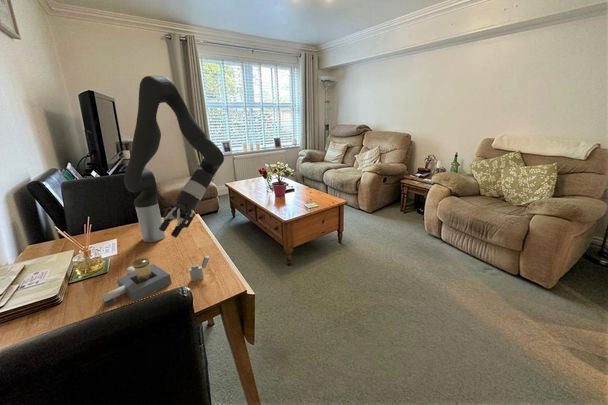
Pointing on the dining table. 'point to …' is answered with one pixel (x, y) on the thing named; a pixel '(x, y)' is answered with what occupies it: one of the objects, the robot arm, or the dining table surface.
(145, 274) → the gold cylindrical piece
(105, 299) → the shaft housing
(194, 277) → the lighter
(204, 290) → the dining table surface
